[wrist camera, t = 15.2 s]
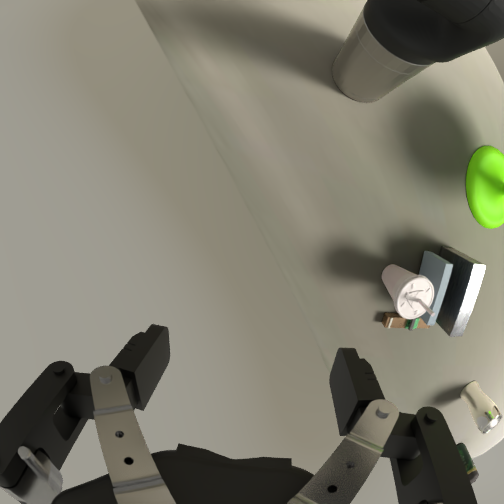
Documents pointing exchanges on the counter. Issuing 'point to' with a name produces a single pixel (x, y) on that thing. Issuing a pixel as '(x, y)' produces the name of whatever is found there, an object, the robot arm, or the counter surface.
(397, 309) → the smoothie
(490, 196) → the wineglass
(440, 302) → the gauge paddle
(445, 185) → the counter surface
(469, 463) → the coffee jar
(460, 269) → the gauge frame
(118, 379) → the robot arm
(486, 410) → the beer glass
